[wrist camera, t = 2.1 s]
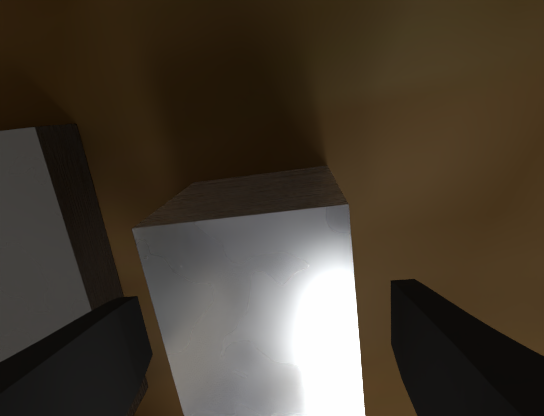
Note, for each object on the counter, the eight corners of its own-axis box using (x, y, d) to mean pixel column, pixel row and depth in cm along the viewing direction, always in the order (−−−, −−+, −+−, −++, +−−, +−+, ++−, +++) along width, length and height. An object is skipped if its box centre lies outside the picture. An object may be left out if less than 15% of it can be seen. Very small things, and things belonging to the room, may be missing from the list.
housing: (342, 328, 14) (366, 443, 9) (227, 336, 14) (193, 450, 10) (327, 164, 12) (348, 203, 7) (194, 181, 12) (132, 228, 8)
